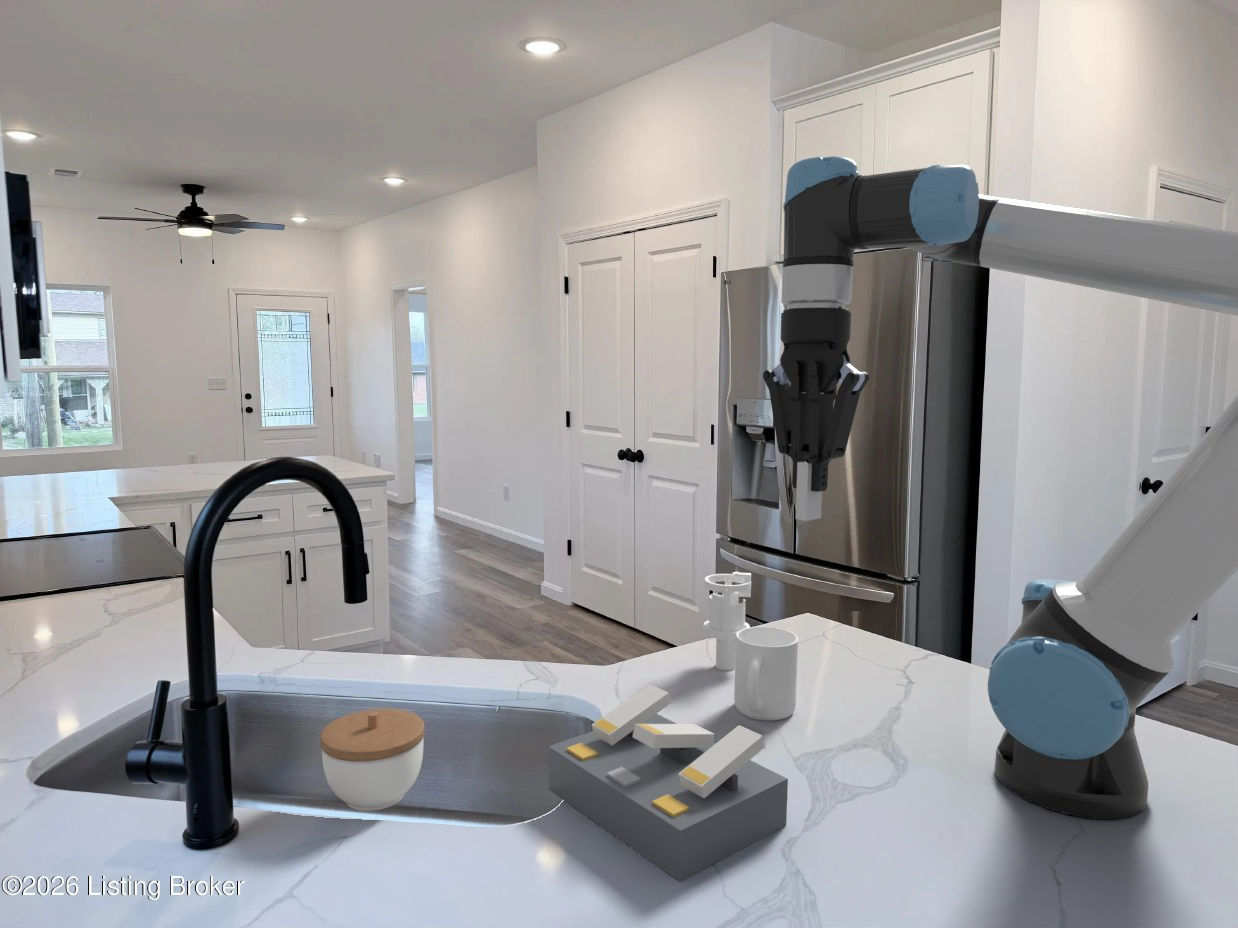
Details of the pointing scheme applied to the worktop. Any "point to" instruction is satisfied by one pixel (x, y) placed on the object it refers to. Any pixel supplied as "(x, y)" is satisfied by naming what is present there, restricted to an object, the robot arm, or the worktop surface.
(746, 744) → the switch
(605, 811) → the switch unit
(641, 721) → the switch
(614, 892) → the worktop surface
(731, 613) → the white plastic fitting
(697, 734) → the switch
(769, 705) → the mug
